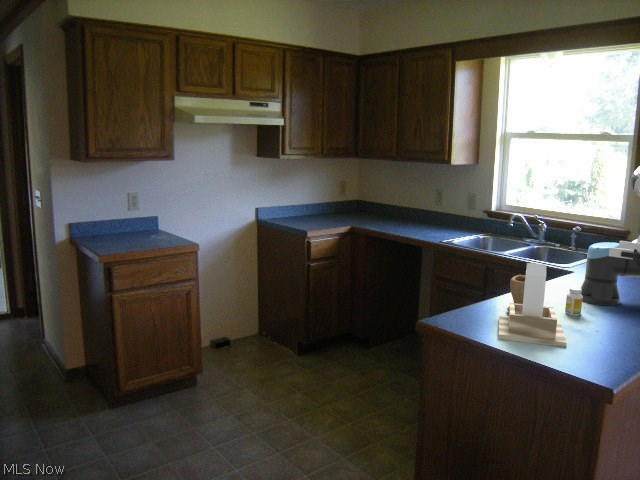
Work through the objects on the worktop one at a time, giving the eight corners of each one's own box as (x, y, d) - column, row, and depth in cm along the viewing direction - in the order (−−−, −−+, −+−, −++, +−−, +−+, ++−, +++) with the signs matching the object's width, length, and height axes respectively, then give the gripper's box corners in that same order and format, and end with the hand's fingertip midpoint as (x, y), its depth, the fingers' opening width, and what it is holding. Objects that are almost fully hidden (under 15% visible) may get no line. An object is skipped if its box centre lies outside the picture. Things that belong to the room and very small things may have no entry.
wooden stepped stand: (498, 319, 192) (500, 299, 191) (560, 326, 186) (562, 305, 185) (498, 338, 174) (500, 316, 172) (566, 347, 168) (568, 324, 166)
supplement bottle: (563, 313, 201) (566, 288, 199) (566, 310, 205) (569, 285, 203) (579, 316, 197) (582, 291, 196) (582, 313, 202) (584, 288, 200)
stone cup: (502, 315, 197) (505, 275, 194) (511, 308, 207) (514, 269, 204) (545, 324, 189) (550, 282, 186) (553, 315, 198) (557, 276, 196)
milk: (521, 324, 183) (526, 261, 180) (540, 326, 181) (546, 262, 178) (521, 330, 178) (526, 264, 174) (541, 332, 176) (547, 266, 172)
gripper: (688, 279, 149) (603, 266, 162) (698, 263, 168) (621, 253, 181) (692, 253, 148) (606, 242, 161) (701, 240, 166) (624, 231, 180)
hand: (614, 248), depth 171 cm, fingers open, 13 cm apart
